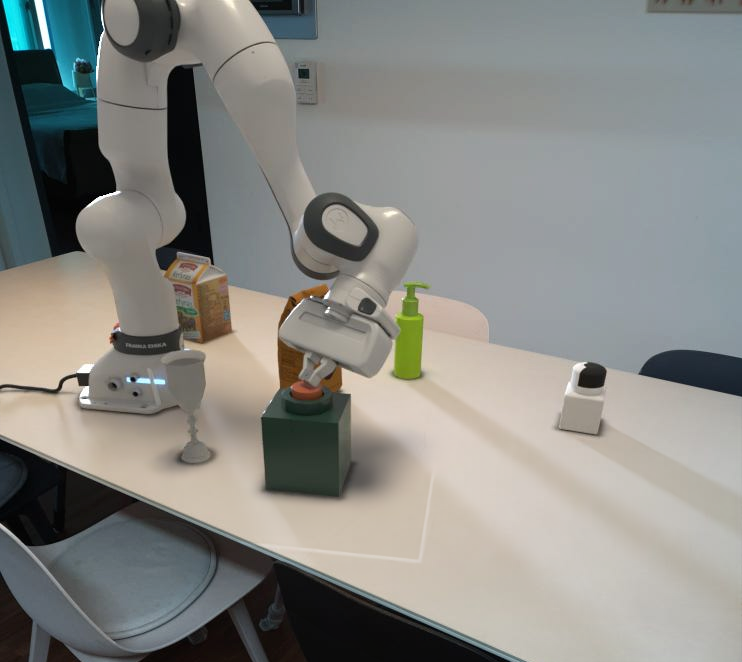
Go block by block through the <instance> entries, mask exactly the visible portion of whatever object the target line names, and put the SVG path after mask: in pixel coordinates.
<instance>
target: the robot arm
mask: <svg viewBox="0 0 742 662" xmlns="http://www.w3.org/2000/svg"><path fill="white" fill-rule="evenodd" d="M100 9H101V10H100V11H101V12H100V15H101V22H102V26H103V32H102V34H101V35H100V41H99V46H98V55H97V66H96V110H97V111H96V112H97V130H98V131H97V133H98V135H97V136H98V148H99V150H100V152H101V155H103V157H104V158H105V159H106V160H107V161H108V162H109V163H110V166H111V169H112V172H113V175H114V179H115V185H116V187H115V188H116V190H115V192H113V193H109V194H106V195H103V196H99V197H97V198H96V199H94V200H93V201H92V202H91V203H89V204H88V205H86V207H84V208H83V209H81V211H80V212H79V213H78V215H77V216H76V217H77V218H76V222H75V233H76V237H77V240H78V242H79V244H80V246H81V248H82V249H83V251H84V252H85V253H86V254H87V255H88V256H89V257H90V258H91V259H93V260H95V262H97V263H98V264H99V266H100V267H101V269H102V271H103V272H104V274H105V276H106V278H107V280H108V283H109V285H110V288H111V291H112V295H113V299H114V304H115V308H116V314H117V321H118V322H117V323H116V324H115V325H114V326H113V330H112V331H111V332H110V336H109V338H108V340H109V344H110V345H112V347H111V348H110V349H109V350H108V351H106V353H104V354H103V355H102V356H100V358H98V360H97V361H96V362H94V364H91V363H90V364H87V363H85V364H83V365H82V366H81V367H80V368H79V369H78V370H77V371H76V372H75V373H71V374H68V375H66V376H64V377H62V378H61V379H60V380H59V382H58V385H57V388H47V387H40V386H31V385H20V384H13V383H3V384H0V390H2V389H7V388H8V389H14V390H15V389H16V390H23V391H36V392H43V393H49V394H56V393H59V392H60V391H62V389H63V386H64V383H65V382H66V381H67V380H71V379H75V378H76V379H77V383H78V387H84V388H83V389H82V390H81V392H80V394H79V398H78V402H79V403H78V404H79V406H80V408H82V409H87V410H99V411H109V412H119V413H120V412H121V413H130V414H140V415H141V414H142V415H154V414H156V413H159V412H161V411H162V410H164V409H169V408H173V407H176V406H179V405H178V403H177V402H176V401H175V399H174V398H173V396H172V394H171V392H170V390H169V388H168V381H167V374H166V367H165V365H164V364H163V362H162V361H161V359H162V357H163V356H164V355H166V354H168V353H171V352H174V351H180V350H191V349H190V348H185V339H184V338H183V333H182V329H181V325H180V324H179V322H178V314H177V306H176V298H175V290H174V287H173V285H172V283H171V282H170V281H169V280H168V279H167V278H165V277H164V274H163V272H162V270H161V268H160V267H161V266H159V263H158V259H157V256H156V251H157V249H160V248H162V247H164V246H167V245H169V244H170V243H172V241H174V240H175V239H176V238H177V237H178V236H179V235H180V233H181V232H182V230H183V229H184V227H185V225H186V220H187V211H186V208H185V205H184V202H183V201H182V199H181V197H179V195H178V193H177V192H176V191H175V186H174V183H173V179H172V174H171V170H170V164H169V158H168V156H169V155H168V79H169V76H170V73H171V72H172V71H173V70H174V69H175V67H178V66H179V67H180V66H181V67H182V68H184V69H187V70H189V69H192V68H197V67H204V69H205V71H206V73H207V75H208V77H209V79H210V82H211V83H212V85H213V87H214V89H215V91H216V92H217V94H218V96H219V99H220V100H221V101H222V103H223V105H224V107H225V108H226V110H227V112H228V113H229V115H230V117H231V118H232V119H231V120H233V122H234V123H235V125H236V127H237V129H238V130H239V132H240V134H241V135H242V137H243V139H244V141H245V142H246V144H247V147H248V148H249V150H250V151H251V153H252V154H253V156H254V158H255V159H256V162H257V164H258V166H259V168H260V169H261V172H262V174H263V176H264V178H265V181H266V182H267V184H268V187H269V189H270V191H271V193H272V195H273V197H274V199H275V202H276V203H277V206H278V208H279V210H280V212H281V214H282V216H283V218H284V221H285V223H286V226H287V230H288V236H289V247H290V254H291V257H292V260H293V263H294V264H295V266H296V268H298V270H299V271H300V272H301V273H302V274H303V275H305V276H307V277H309V278H310V279H313V280H316V281H330V280H333V279H334V281H333V283H332V285H331V286H330V288H328V289H329V291H328V293H327V294H326V295H324V297H325V298H320V297H318V296H314V295H313V296H311V297H309V298H307V299H304V300H303V301H302V302H301V303H300V304H298V305H297V306H296V307H295V309H294V310H293V311H292V312H291V313H290V315H289V316H288V317H287V319H286V320H285V322H284V323H283V324H282V326H281V327H280V329H279V338H280V339H281V340H282V341H283V342H284V343H285V344H286V345H287V346H289V347H290V348H293V349H296V350H298V351H301V352H303V353H305V355H304V359H303V369H302V371H301V373H300V374H299V376H298V378H299V379H300V380H301V381H302V382H304V383H306V384H309V385H311V386H313V387H317V386H318V384H319V382H320V381H321V379H323V378H324V377H326V376H327V375H329V374H330V373H332V372H333V371H334V369H335V367H336V366H339V367H341V368H342V369H344V370H346V371H349V372H352V373H354V374H357V375H359V376H362V377H364V378H367V379H371V378H374V377H375V376H376V375H378V374H379V372H380V371H381V370H382V368H383V366H384V365H385V363H386V361H387V359H388V358H389V355H390V353H391V351H392V349H393V340H395V339H396V338H397V337H398V335H399V334H400V331H401V329H400V328H399V326H398V325H397V323H396V320H394V318H393V317H392V315H390V314H389V312H388V311H386V307H387V306H388V303H389V300H390V296H391V294H392V293H393V291H394V290H395V289H396V288H397V287H398V286H399V285H400V284H401V282H402V281H403V280H404V277H405V275H406V274H407V272H408V270H409V269H410V266H411V264H412V262H413V260H414V258H415V256H416V253H417V252H418V251H417V250H418V247H419V242H420V237H419V231H418V230H417V227H416V225H415V224H414V223H413V221H412V220H411V218H410V217H409V216H408V215H406V213H405V212H403V211H401V210H400V209H398V208H397V207H394V206H373V205H367V204H364V203H361V202H358V201H356V200H353V199H352V198H350V197H348V196H347V195H345V194H342V193H339V192H330V191H329V192H324V193H321V194H318V195H317V194H316V192H315V189H314V187H313V185H312V183H311V181H310V179H309V176H308V174H307V173H306V169H305V168H304V165H303V164H302V161H301V157H300V154H299V150H298V149H299V148H298V144H297V107H298V106H297V103H298V102H297V101H298V100H297V91H296V88H295V85H294V81H293V78H292V75H291V71H290V69H289V66H288V64H287V62H286V60H285V57H284V55H283V52H282V50H281V49H280V47H279V45H278V44H277V42H276V39H275V38H274V36H273V34H272V33H271V31H270V29H269V27H268V25H267V24H266V23H265V21H264V20H263V18H262V16H261V15H260V14H259V12H258V10H257V9H256V8H255V6H254V5H253V3H252V2H251V1H250V0H101V7H100ZM310 300H311V301H310ZM320 359H321V361H320ZM319 361H320V363H321V365H320V366H319V367H318V368H317V369H315V370H314V371H313V369H314V364H316V365H317V364H318V362H319Z"/></svg>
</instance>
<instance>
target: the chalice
mask: <svg viewBox="0 0 742 662" xmlns="http://www.w3.org/2000/svg"><path fill="white" fill-rule="evenodd" d="M206 358H207V354H206V353H205V352H204V351H202V350H196V349H190V350H180V351H174V352H171V353H168V354H166V355H164V356H163V357H162V359H161V361H162V362H163V364H164V365H165V367H166V374H167V381H168V388H169V390H170V392H171V394H172V396H173V398H174V399H175V401H176V402H177V403H178V405H177V406H178V407H179V408H180V409H181V410H182V411H183V412H187V420H186V423H188V425H189V429H188V430H187V433H188V434H189V435H190V441H188V442H187V443H186V444H185V446H183V450H182V455H181V457H180V458H181V460H182V461H183V462H185V463H188V464H199V463H202V462H205V461H207V460H208V459H210V458H211V456H212V453H211V452H210V451H209V447H207V445H206V443H204V442H203V441H201V440H199V439H198V437H197V435H198V433H199V429H198V428H197V427H196V423H197V421H198V420H197V419H196V418H195V411H197V410H199V408H200V406H201V402H202V400H203V398H204V395H205V390H206V386H207V380H206V371H205V360H206Z"/></svg>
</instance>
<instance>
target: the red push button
mask: <svg viewBox="0 0 742 662" xmlns="http://www.w3.org/2000/svg"><path fill="white" fill-rule="evenodd" d="M291 391H292V398H295V399H298V400H315V399H318V398H321V397H323V393H322V385H321V384H320V383H319V384H318V386H317V387H313V386H311V385H309V384H306V383H304V382H302V381H300V382H297V383H294V384H293V385H292V387H291Z"/></svg>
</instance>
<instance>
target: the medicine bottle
mask: <svg viewBox="0 0 742 662" xmlns="http://www.w3.org/2000/svg"><path fill="white" fill-rule="evenodd" d="M607 373H608V369H607V368H606V367H605V366H604V365H601V364H599V363H598V362H593V361H583V362H578V363H576V364H574V365H573V367H572V372H571V378H570V381H568V383H567V386H566V389H565V393H564V396H563V401H562V407H561V414H560V420H559V424H558V425H559V426H558V428H559V430H565V431H571V432H577V433H578V432H579V433H583V434H591V435H598V434H599V430H600V425H601V424H600V423H601V420H602V419H601V418H602V415H603V410H604V405H605V399H606V393H607V386H606V385H605V383H606V378H607Z"/></svg>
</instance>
